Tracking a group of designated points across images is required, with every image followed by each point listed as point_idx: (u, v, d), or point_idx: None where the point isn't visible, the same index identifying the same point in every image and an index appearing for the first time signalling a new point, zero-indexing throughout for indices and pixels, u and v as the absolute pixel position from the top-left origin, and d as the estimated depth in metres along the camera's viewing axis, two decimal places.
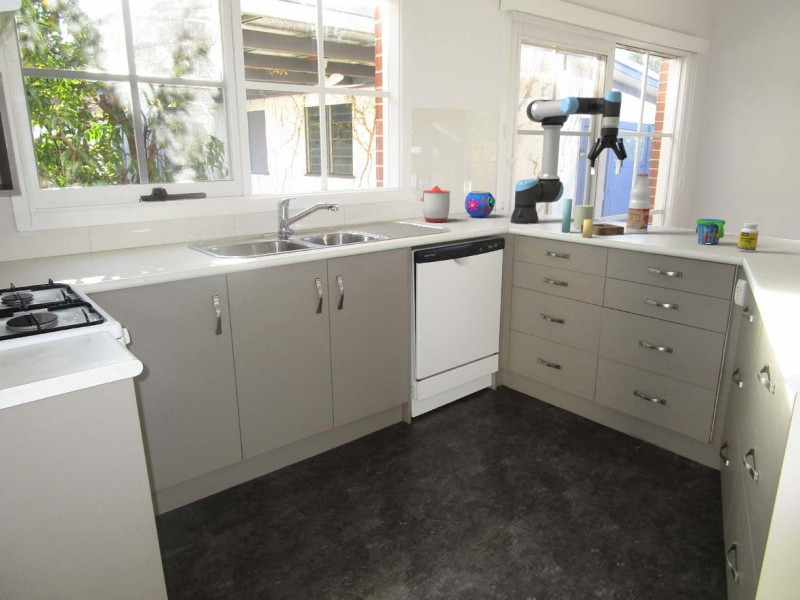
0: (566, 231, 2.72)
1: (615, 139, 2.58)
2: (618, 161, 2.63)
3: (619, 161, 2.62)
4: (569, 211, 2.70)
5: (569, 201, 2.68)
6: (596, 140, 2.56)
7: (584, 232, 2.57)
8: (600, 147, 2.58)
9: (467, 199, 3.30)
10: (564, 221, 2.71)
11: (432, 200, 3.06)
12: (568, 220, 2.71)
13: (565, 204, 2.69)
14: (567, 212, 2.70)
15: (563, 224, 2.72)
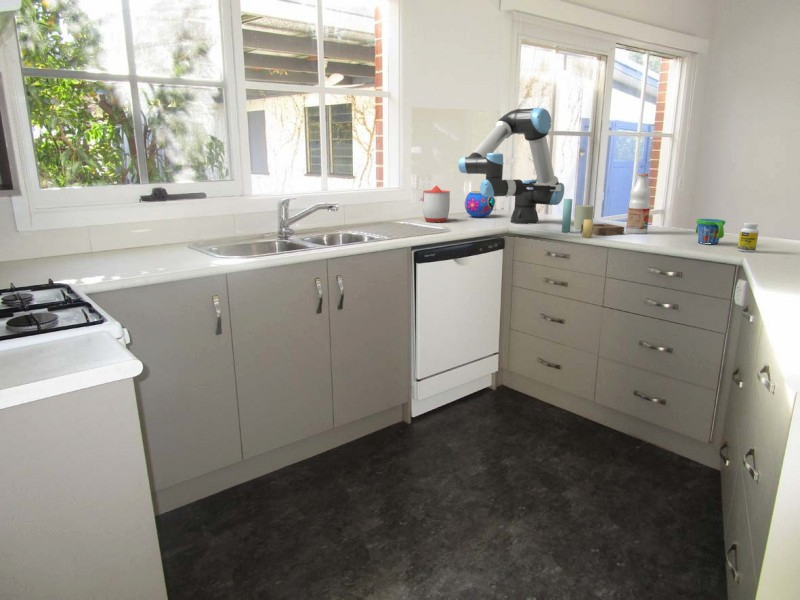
0: (566, 231, 2.72)
1: (525, 190, 2.59)
2: None
3: None
4: (569, 211, 2.70)
5: (569, 201, 2.68)
6: None
7: (584, 232, 2.57)
8: None
9: (467, 199, 3.30)
10: (564, 221, 2.71)
11: (432, 200, 3.06)
12: (568, 220, 2.71)
13: (565, 204, 2.69)
14: (567, 212, 2.70)
15: (563, 224, 2.72)
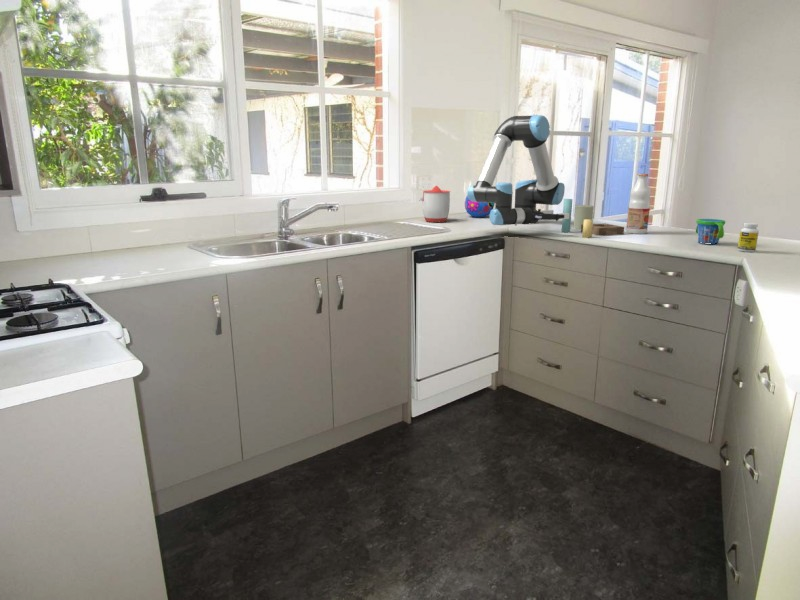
0: (566, 231, 2.72)
1: (534, 218, 2.63)
2: None
3: None
4: (569, 211, 2.70)
5: (569, 201, 2.68)
6: None
7: (584, 232, 2.57)
8: None
9: (467, 199, 3.30)
10: (564, 221, 2.71)
11: (432, 200, 3.06)
12: (568, 220, 2.71)
13: (565, 204, 2.69)
14: (567, 212, 2.70)
15: (563, 224, 2.72)
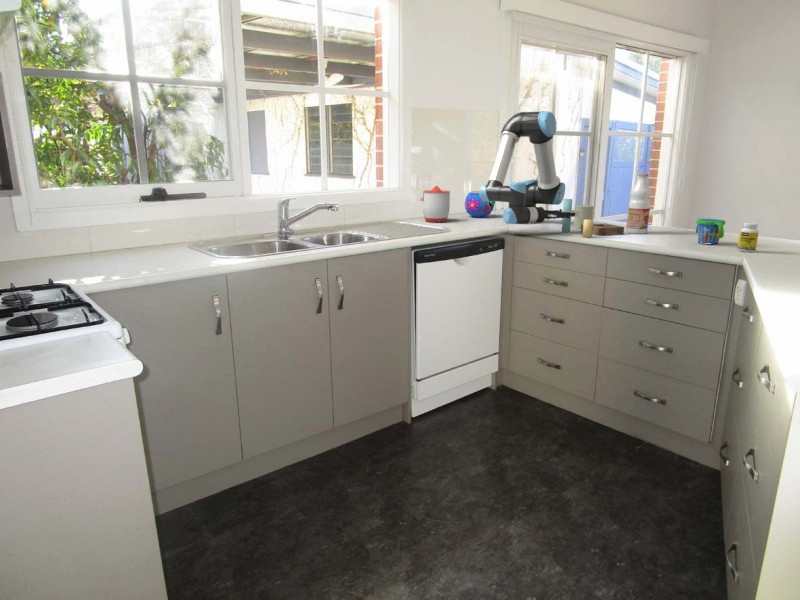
0: (566, 231, 2.72)
1: (547, 217, 2.66)
2: None
3: None
4: None
5: (569, 201, 2.68)
6: None
7: (584, 232, 2.57)
8: None
9: (467, 199, 3.30)
10: (564, 221, 2.71)
11: (432, 200, 3.06)
12: (568, 220, 2.71)
13: (565, 204, 2.69)
14: None
15: (563, 224, 2.72)
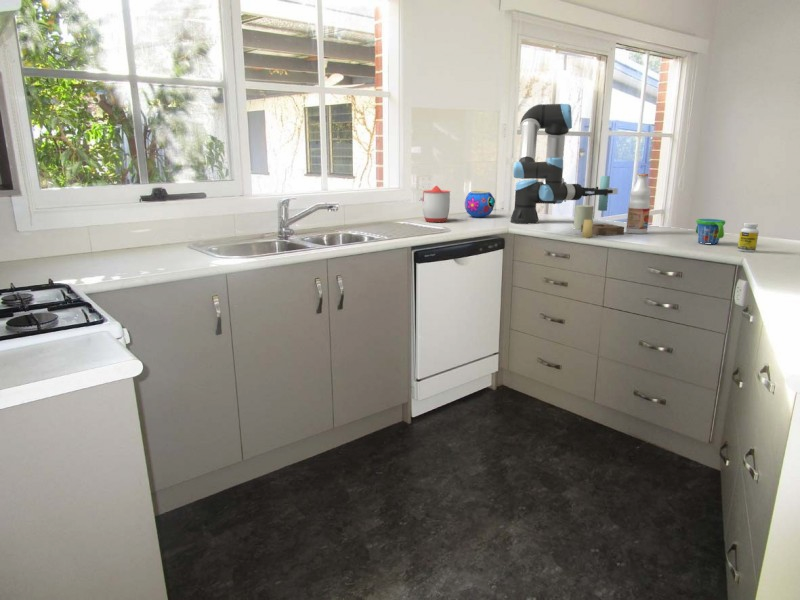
0: (603, 209, 2.66)
1: (584, 194, 2.60)
2: None
3: None
4: (606, 188, 2.63)
5: (606, 178, 2.62)
6: None
7: (584, 232, 2.57)
8: None
9: (467, 199, 3.30)
10: (601, 199, 2.65)
11: (432, 200, 3.06)
12: (605, 198, 2.64)
13: (602, 181, 2.63)
14: None
15: (600, 202, 2.66)
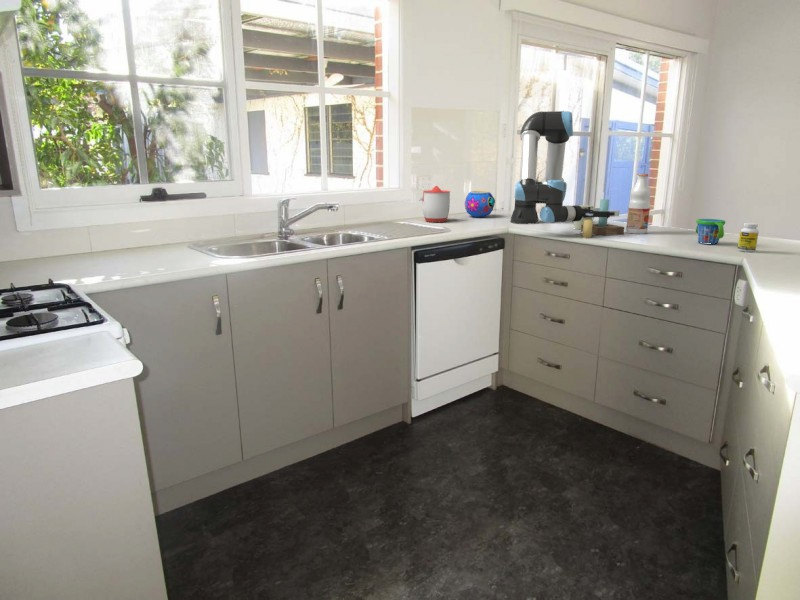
0: None
1: (584, 216, 2.63)
2: None
3: None
4: None
5: (606, 201, 2.65)
6: None
7: (584, 232, 2.57)
8: None
9: (467, 199, 3.30)
10: (600, 222, 2.68)
11: (432, 200, 3.06)
12: (605, 221, 2.68)
13: (602, 205, 2.66)
14: None
15: (599, 225, 2.69)
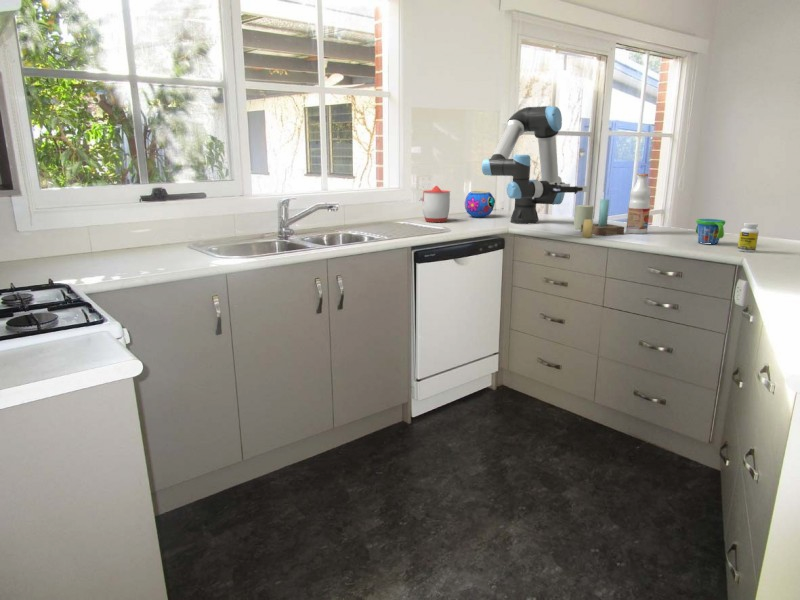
0: None
1: (552, 191, 2.57)
2: None
3: None
4: (606, 212, 2.67)
5: (606, 201, 2.65)
6: None
7: (584, 232, 2.57)
8: None
9: (467, 199, 3.30)
10: (600, 222, 2.68)
11: (432, 200, 3.06)
12: (605, 221, 2.68)
13: (602, 205, 2.66)
14: (604, 213, 2.67)
15: (599, 225, 2.69)
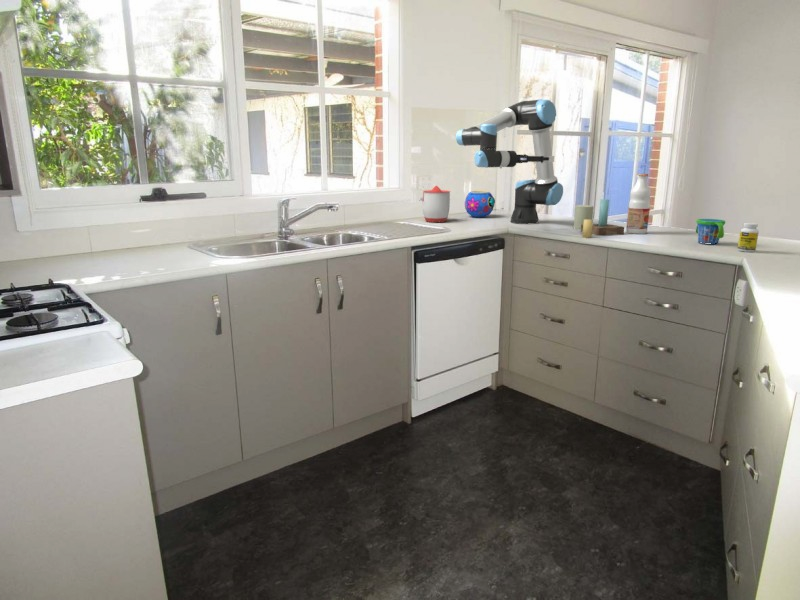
0: None
1: (519, 161, 2.63)
2: None
3: None
4: (606, 212, 2.67)
5: (606, 201, 2.65)
6: None
7: (584, 232, 2.57)
8: None
9: (467, 199, 3.30)
10: (600, 222, 2.68)
11: (432, 200, 3.06)
12: (605, 221, 2.68)
13: (602, 205, 2.66)
14: (604, 213, 2.67)
15: (599, 225, 2.69)
